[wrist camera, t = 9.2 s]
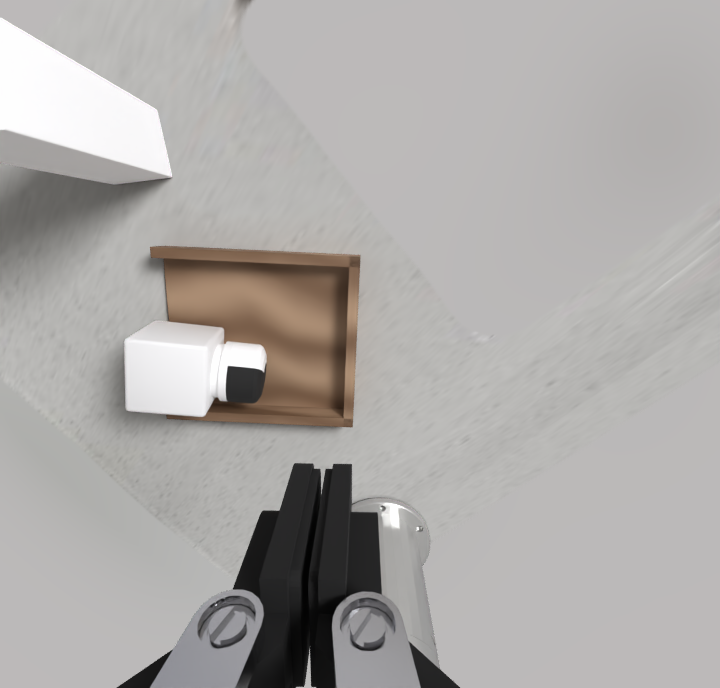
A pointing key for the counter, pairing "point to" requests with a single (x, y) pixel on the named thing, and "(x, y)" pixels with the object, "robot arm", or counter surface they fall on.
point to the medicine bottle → (189, 369)
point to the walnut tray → (275, 325)
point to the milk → (72, 118)
